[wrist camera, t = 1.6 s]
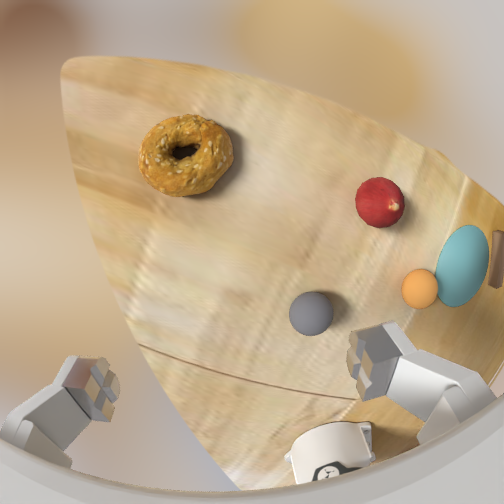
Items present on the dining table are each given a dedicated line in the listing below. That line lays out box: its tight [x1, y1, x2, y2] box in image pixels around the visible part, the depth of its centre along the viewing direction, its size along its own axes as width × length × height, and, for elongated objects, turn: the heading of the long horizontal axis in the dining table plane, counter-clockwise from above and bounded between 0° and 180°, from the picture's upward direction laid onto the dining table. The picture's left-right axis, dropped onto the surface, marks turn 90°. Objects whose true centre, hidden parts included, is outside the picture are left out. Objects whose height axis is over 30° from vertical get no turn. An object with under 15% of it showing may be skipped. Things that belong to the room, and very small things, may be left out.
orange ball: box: [402, 269, 438, 309], centre depth 32 cm, size 6×6×6 cm
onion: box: [355, 177, 405, 228], centre depth 28 cm, size 6×6×8 cm
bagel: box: [138, 114, 234, 197], centre depth 28 cm, size 10×11×5 cm
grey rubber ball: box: [289, 292, 333, 336], centre depth 32 cm, size 6×6×6 cm
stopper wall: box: [488, 230, 504, 289], centre depth 33 cm, size 2×10×2 cm, turn 9°
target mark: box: [435, 225, 489, 307], centre depth 34 cm, size 14×14×1 cm
